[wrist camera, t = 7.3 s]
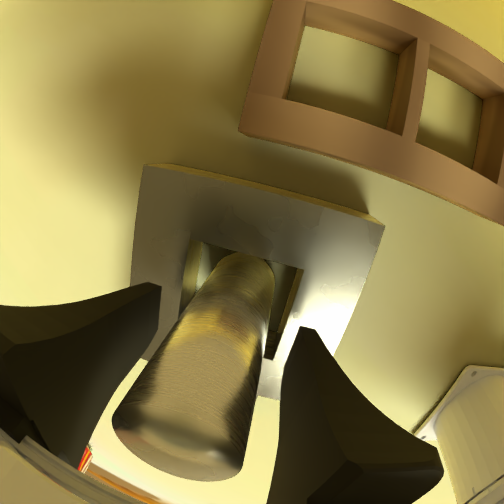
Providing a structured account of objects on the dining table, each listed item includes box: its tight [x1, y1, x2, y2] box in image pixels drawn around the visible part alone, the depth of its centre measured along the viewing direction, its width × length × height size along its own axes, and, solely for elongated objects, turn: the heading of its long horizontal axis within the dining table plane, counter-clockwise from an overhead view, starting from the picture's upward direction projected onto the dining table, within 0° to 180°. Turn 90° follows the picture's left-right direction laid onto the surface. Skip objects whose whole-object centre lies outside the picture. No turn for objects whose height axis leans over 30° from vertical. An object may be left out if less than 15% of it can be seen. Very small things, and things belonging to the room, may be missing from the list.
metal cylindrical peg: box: [112, 252, 275, 482], centre depth 10 cm, size 3×3×10 cm
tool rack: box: [238, 0, 504, 226], centre depth 10 cm, size 13×8×2 cm, turn 77°
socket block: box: [130, 163, 385, 401], centre depth 14 cm, size 10×15×2 cm
